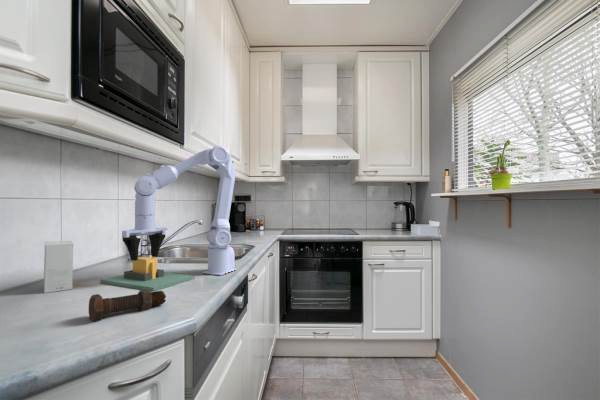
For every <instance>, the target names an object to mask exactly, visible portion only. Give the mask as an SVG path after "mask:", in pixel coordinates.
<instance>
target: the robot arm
mask: <svg viewBox="0 0 600 400" xmlns="http://www.w3.org/2000/svg"><path fill="white" fill-rule="evenodd" d="M198 165H201V166H206V165H208V166H209V167H211V168H212V169H214V170H215V171H216V172H217V174H218V175H219V176H220V178H219V184H218V185H219V186H218V191H217V197H216V198H217V199H216V204H215V210H214V216H213V219H212V222H211V223H210V225H211V226H210V229H209V230H208V232H207V233H206V240H207V242H208V243H209V244H208V246H207V270H205V271H202V274H204V273H205V275H214V276H223V275H225V273H226V274H229V273H228V272H230V273H232V272H231V271H233V272H235V271H234V270H236V271H237V268H235V265H236V264H235V259H236V258H235V257H236V256H235V254H236V253H235V250H234V248H233V247H232V246H230V244H231V241H232V234H231V226H230V225H231V224H230V222H229V220H230V215H231V214H230V213H231V206H232V200H233V196H234V195H233V193H234V188H235V181H236V174H237V172H236V168H235V166H234V163H233V160H232V154H231V153H230V151H229V150H228V149H227V148H226V147H224V146H222V145H216V146H214V147H212V148H207V149H204V150H202V151H200V152H197V153H195V154H193V155H192V156H189V157H188V158H186V159H184V160H182V161H181V162H179V163H177V164H176V165H169V164H166V165H164V164H161V165H160V166H159V168H158V169H156V170H155V171H152V172H150V173H149V172H148V173H145V175H143V176H142V177H140V178H138V180H137V181H136V182H135V183H134V187H133V189H134V192H135V201H134V229H133V228H132V229H128V230H122V231H121V238H122V241H123V243H124V245H125V246H126V248H127V251H128V254H129V258H130V260H131V261H133V260H134V261H136V260H138V257H139V247H140V243H141V240H142V238H141V237H140V236H148V239H149V242H150V243H149V244H150V255H151V257H153V258H158V256H159V253H160V249H161V246H162V244H163V241H164V240H165V238H166V227H156V201H155V193H156V190H161V189H163V188H165V187H166V186H168V185H170V184H172V183H175V182H176V181H177V180H178V177H179V175H180V174H182V173H184V172H186V171H188V170H190V169H191V168H194V167H196V166H198Z"/></svg>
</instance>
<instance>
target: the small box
mask: <svg viewBox="0 0 600 400" xmlns="http://www.w3.org/2000/svg"><path fill="white" fill-rule="evenodd" d="M43 258H44V259H43V262H44V264H43V293H44V294H46V293H47V294H49V293H54V292H63V291H69V290H73V280H74V279H73V271H74V269H73V268H74V267H73V265H74V264H73V262H74V243H73V241H71V240H66V241H65V240H64V241H62V240H61V241H48V242H44V257H43Z"/></svg>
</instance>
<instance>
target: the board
mask: <svg viewBox="0 0 600 400" xmlns="http://www.w3.org/2000/svg"><path fill="white" fill-rule="evenodd" d="M192 279H193V280H194V279H195V275H190V274H182V273H176V272H175V273H174V272H167V271H166V272H165V270H164V269H160V268H157V271H156V278H154V279H151V273H146V274H144V273H137V272H133V269H131V270H126V271H124V272H123V274H120V275H116V276H112V277H106V278H102V279H100V284H105V285H111V286H116V287H117V286H118V287H124V288H129V289H130V288H131V289H137V290H145V289H146V290H149V291H150V292H155V291H161V290H162V289H165V288H169V287H172V286H173V287H174V286H175V285H179V284H182V283H185V282H190V281H192Z"/></svg>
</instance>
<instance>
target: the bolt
mask: <svg viewBox="0 0 600 400" xmlns="http://www.w3.org/2000/svg"><path fill="white" fill-rule="evenodd" d="M166 297H167V295H166V293H165V292H164V291H163V290H156V291H149V290H146V289H145V290H142V289H139V291H138V293H136V294H129V295H124V296H116V297H106V298H103V296H101V294H97V293H96V294H92V295H91V296H90V298H89V301H88V317H89V320H90V321H91V322H93V323H94V322H99V321H102V317H103V316H107V315H110V314H115V313H118V312H125V311H130V310H136V309H137V310H139V311H143V312H144V311H148V310H150V309H151V308H152V307H153V306H158V305H164V303H165V302H166Z"/></svg>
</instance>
